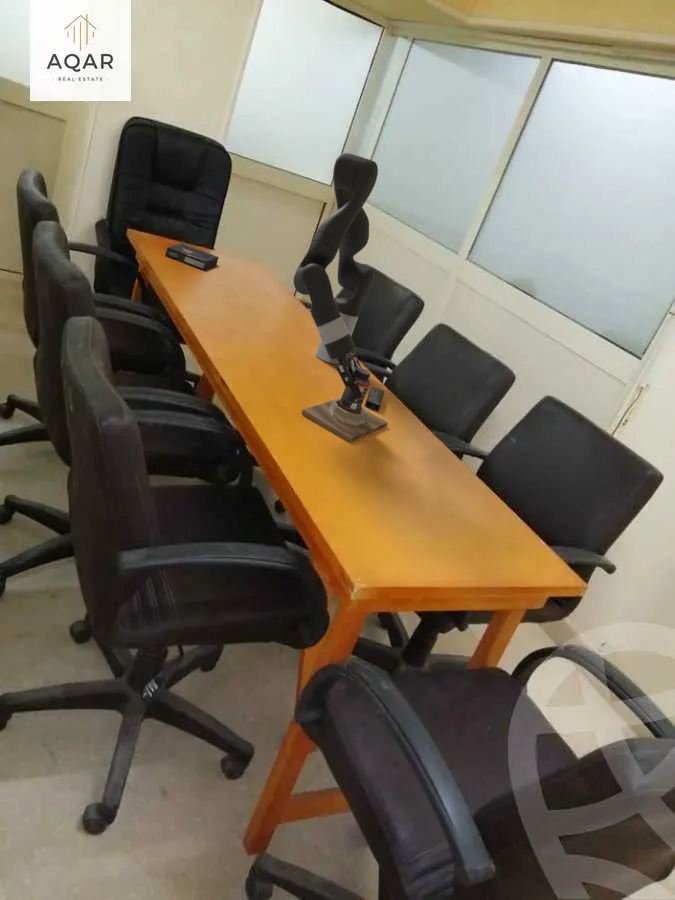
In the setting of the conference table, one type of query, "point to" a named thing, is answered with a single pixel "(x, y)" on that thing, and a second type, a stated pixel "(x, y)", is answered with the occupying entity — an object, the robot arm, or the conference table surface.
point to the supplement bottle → (363, 383)
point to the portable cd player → (192, 256)
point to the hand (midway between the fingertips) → (361, 394)
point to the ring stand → (344, 420)
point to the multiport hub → (374, 399)
